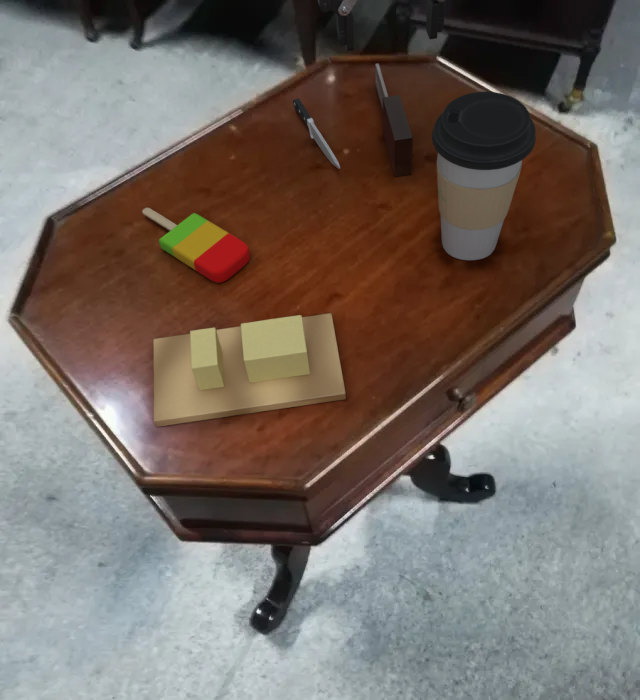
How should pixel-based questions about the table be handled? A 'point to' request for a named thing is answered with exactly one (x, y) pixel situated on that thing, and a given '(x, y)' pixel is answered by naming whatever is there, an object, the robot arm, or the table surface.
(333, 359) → the board
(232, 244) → the popsicle
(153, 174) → the table surface
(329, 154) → the knife
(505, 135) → the coffee cup
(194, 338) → the butter pat
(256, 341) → the butter stick
